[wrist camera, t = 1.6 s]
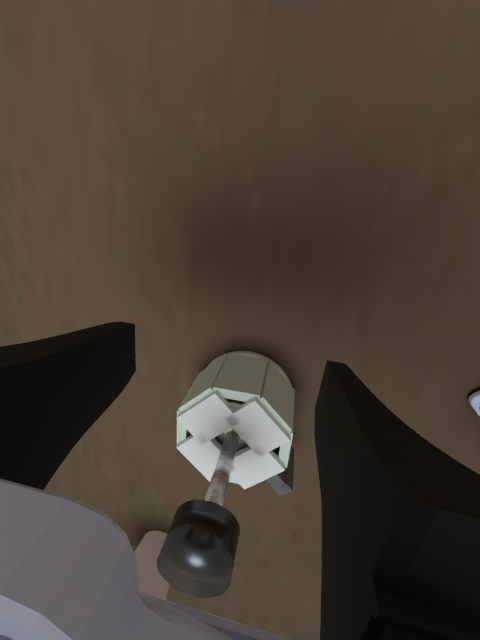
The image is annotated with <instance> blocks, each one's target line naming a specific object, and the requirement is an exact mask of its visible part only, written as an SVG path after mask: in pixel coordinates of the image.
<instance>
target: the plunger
mask: <svg viewBox="0 0 480 640" xmlns="http://www.w3.org/2000/svg"><path fill="white" fill-rule="evenodd" d="M228 402H229V403H230V405H231V406H232V407H233V408H234V409H236V408H237V407H239V406H241V405H242V404H244V403H240V402H236V401H228ZM214 439H215V440H216V441H217V442H218V443H219V444H220V445H221V446H222V448H221V451H220V454H219V457H218V460H217V463H216V466H215V469H214V472H213V475H212V478H211V482H210V485H209V488H208V491H207V494H206V497H205V500H191V501H187V502H185V503H183V504H182V505H181V506H179V508H178V509H177V511H176V513H175V516H174V518H173V521H172V523H171V526H170V528H169V531H168V533H167V536H166V538H165V541H164V543H163V546H162V548H161V551H160V553H159V556H158V558H157V568H158V571H159V573H160V574H161V576H162V577H163V578H164V580H165V581H166V582H168V583H169V584H170V585H171V586H173V587H174V588H176V589H177V590H179V591H181V592H183V593H186V594H189V595H192V596H196V597H203V598H211V597H216V596H219V595H222V594H223V593H225V592H226V591H227V589H228V588H229V586H230V581H231V576H232V570H233V565H234V560H235V555H236V549H237V544H238V539H239V534H240V527H239V524H238V522H237V520H236V518H235V517H234V516H233V514H232V513H231V512H229V511H228V510H227V509H226V508H224V507H222V505H223V501H224V498H225V494H226V490H227V486H228V482H229V479H230V475H231V471H232V467H233V463H234V460H235V456H236V452H238V451H240V450H242V449H244V448H246V447H248V446H249V445H248V444H247V443H246V442H245V441H244V440H243V439H242V438H241V437H240V435H239V434H238V433H237V432H236V431H235V430H234V429H233V428H230V429H228V430H227V431H225V432H223V433H221V434H220V435H218V436H216V437H214Z"/></svg>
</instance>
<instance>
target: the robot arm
mask: <svg viewBox="0 0 480 640" xmlns="http://www.w3.org/2000/svg"><path fill="white" fill-rule="evenodd" d="M135 371H136V365H135V324H131V323H125V322H112V323H107V324H102V325H98V326H94V327H90V328H86V329H83V330H79V331H75V332H71V333H67V334H63V335H59V336H54V337H50V338H46V339H41V340H37V341H32V342H27V343H21V344H15V345H9V346H2V347H0V640H295V639H292V638H289V637H286V636H282V635H279V634H276V633H272V632H269V631H266V630H263V629H259V628H256V627H253V626H249V625H246V624H243V623H239V622H236V621H233V620H230V619H226V618H223V617H220V616H216V615H213V614H210V613H206V612H203V611H200V610H197V609H193V608H190V607H187V606H183V605H180V604H177V603H173V602H170V601H167V600H164V599H160V598H157V597H154V596H152V595H150V594H148V593H146V592H144V591H142V590H140V589H138V564H137V561H136V558H135V555H134V553H133V550H132V547H131V545H130V542H129V539H128V537H127V534H126V533H125V532H124V531H123V530H122V529H121V528H120V527H119V526H118V525H117V524H116V523H114V522H113V521H112V520H111V519H110V518H109V517H108V516H107V515H106V514H105V513H104V512H102V511H100V510H98V509H96V508H93V507H91V506H89V505H87V504H85V503H83V502H80V501H78V500H76V499H74V498H70V497H67V496H63V495H59V494H56V493H52V492H48V491H45V490H44V488H45V487H46V485H47V484H48V482H49V481H50V479H51V478H52V476H53V475H54V473H55V472H56V470H57V469H58V468H59V466H60V465H61V463H62V462H63V461H64V459H65V458H66V457H67V455H68V454H69V452H70V451H71V450H72V448H73V447H74V446H75V444H76V443H77V442H78V441H79V440H80V438H81V437H82V436H83V435H84V434H85V432H86V431H87V430H88V429H89V428H90V427H91V426H92V425H93V424H94V422H95V421H96V420H97V419H98V418H99V417H100V416H101V415H102V414H103V412H104V411H105V410H106V409H107V408H108V407H109V406H110V405H111V403H112V402H113V401H114V400H115V399H116V398H117V397H118V396H119V394H120V393H121V392H122V391H123V389H124V388H125V386H126V385H127V383H128V382H129V380H130V379H131V377H132V376H133V374H134V372H135ZM468 401H469V403H470V404H471V406H472V407H473V409H474V410H475V411H476V413H477V414H478V415H479V417H480V391H478V392H475V393H473V394H472V395H470V397H469V399H468ZM314 433H315V443H316V453H317V462H318V471H319V480H320V489H321V502H322V585H321V629H320V640H480V475H479V474H478V473H476V472H474V471H472V470H471V469H469V468H467V467H466V466H464V465H463V464H461V463H459V462H458V461H456V460H455V459H453V458H452V457H450V456H449V455H447V454H446V453H444V452H443V451H441V450H440V449H438V448H437V447H435V446H434V445H432V444H431V443H430V442H428V441H427V440H425V439H424V438H423V437H421V436H420V435H419V434H417V433H416V432H415V431H414V430H412V429H411V428H410V427H409V426H407V425H406V424H405V423H404V422H402V421H401V420H400V419H399V418H398V417H397V416H395V415H394V414H393V413H392V412H391V411H390V410H389V409H388V408H387V407H386V406H385V405H384V404H383V403H382V402H381V401H380V400H379V399H378V398H377V397H376V396H375V395H374V394H373V393H372V392H371V391H370V390H369V389H368V388H367V387H366V386H365V385H364V384H363V383H362V381H361V380H360V379H359V378H358V377H357V376H356V375H355V374H354V373H353V371H352V370H351V369H350V368H349V367H348V366H347V365H346V364H344V363H338V362H333V361H328V360H327V363H326V367H325V371H324V375H323V379H322V383H321V387H320V391H319V395H318V399H317V403H316V407H315V432H314Z"/></svg>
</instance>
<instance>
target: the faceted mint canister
mask: <svg viewBox="0 0 480 640" xmlns="http://www.w3.org/2000/svg"><path fill="white" fill-rule="evenodd" d="M228 401H236V402H240V403H244V404H242V405H241V406H239V407H237V408H236V409H234V408H233V407H232V406H231V405H230V403H229V402H228ZM294 405H295V391H294V388H293V387H292V385H291V382H290V379H289V378H288V376H287V374H286V373H285V371H284V370H283V369H282V368H281V367H280V366H279V365H278V364H277V363H276V362H274V361H273V360H271V359H270V358H268V357H266V356H264V355H261V354H258V353H255V352H250V351H233V352H229V353H225V354H223V355H220V356H219V357H217V358H215V359H214V360H213V361H212V362H211V363H210V364H209V365H208V366H207V368H206V369H204V370H203V371H201V372H200V373H199V374H198V376H197V378H196V379H195V381H194V383H193V384H192V386H191V388H190V389H189V391H188V393H187V395H186V396H185V398H184V400H183V401H182V403H181V405H180V406H179V408H178V410H177V418H176V419H177V447H176V448H177V449H178V450H179V451H180V452H181V453H182V454H183V455H184V456H185V457H186V458H187V459H188V460H189V461H190V462H191V463H192V464H193V465H194V466H195V467H196V468H197V469H198V470H199V471H200V472H201V473H202V474H203V475H204V476H205V477H206V478H207V480H208V481H209V482H210V481H211V478H212V475H213V472H214V469H215V466H216V463H217V460H218V457H219V454H220V451H221V448H222V446H221V445H220V444H219V443H218V442H217V441H216V440H215V439H214V437H216V436H218V435H220V434H221V433H223V432H225V431H227V430H228V429H230V428H233V429H234V430H235V431H236V432H237V433H238V434H239V435H240V437H241V438H242V439H243V440H244V441H245V442H246V443H247V444H248V445H249V446H248V447H246V448H244V449H242V450H240V451H238V452H236V456H235V460H234V463H233V467H232V471H231V475H230V479H229V482H232V483H237V484H240V485H241V486H242V487H243V489H244V490H245V489H247V488H249V487H251V486H253V485H255V484H257V483H259V482H262V481H264V480H266V481H267V482H268V483H269V484H270V485H271V486H272V487H273V488H274V490H275V491H276V492H277V493H278V494H279V496H282V495H284V494H287V493H289V492H291V491H293V470H294V448H293V447H292V446H291V443H292V437H293V427H294Z"/></svg>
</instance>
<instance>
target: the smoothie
mask: <svg viewBox="0 0 480 640" xmlns="http://www.w3.org/2000/svg"><path fill="white" fill-rule="evenodd" d="M166 536H167V533H164V532H161V531H149V532H147V533H146V534H145V535H144V537H143V539H142V540H141V542H140V544H139V545H138V547H137V549H136V550H135V552H134V555H135V558H136V561H137V564H138V589H140V590H142V591H144V592H146V593H148V594H150V595H152V596H154V597H157V598H160V599H164V600H166V598H167V593H168V589H169V585H170V584H169V583H168V582H166V581H165V580H164V578H163V577H162V576H161V574H160V573H159V571H158V568H157V558H158V556H159V553H160V551H161V548H162V546H163V543H164V541H165V538H166Z"/></svg>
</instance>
